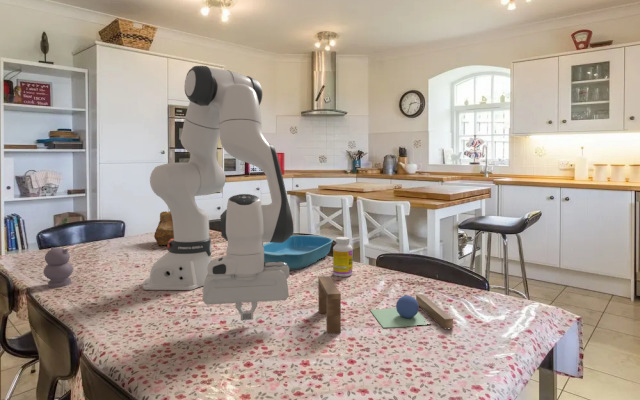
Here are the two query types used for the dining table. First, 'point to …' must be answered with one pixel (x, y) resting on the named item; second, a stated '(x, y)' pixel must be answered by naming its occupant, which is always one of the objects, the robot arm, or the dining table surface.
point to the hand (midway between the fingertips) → (247, 319)
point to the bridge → (330, 303)
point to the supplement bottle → (342, 257)
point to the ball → (407, 306)
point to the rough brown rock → (164, 229)
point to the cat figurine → (58, 267)
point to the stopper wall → (435, 311)
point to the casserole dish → (298, 250)
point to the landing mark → (396, 318)
